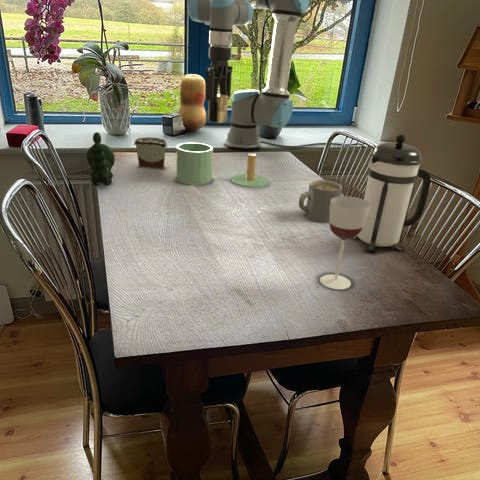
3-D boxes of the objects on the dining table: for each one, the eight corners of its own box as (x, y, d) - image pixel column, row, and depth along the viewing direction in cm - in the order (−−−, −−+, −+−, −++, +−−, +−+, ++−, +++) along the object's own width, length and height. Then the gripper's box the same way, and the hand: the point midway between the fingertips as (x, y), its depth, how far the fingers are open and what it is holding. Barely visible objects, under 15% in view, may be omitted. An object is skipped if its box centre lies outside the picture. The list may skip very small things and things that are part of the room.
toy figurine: (116, 196, 166) (115, 167, 185) (112, 139, 154) (111, 114, 173) (87, 196, 164) (89, 167, 183) (80, 138, 152) (83, 113, 171)
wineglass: (314, 273, 124) (327, 195, 113) (348, 274, 125) (364, 196, 114) (321, 289, 117) (335, 208, 106) (357, 290, 118) (375, 209, 107)
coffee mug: (330, 210, 162) (335, 179, 157) (341, 222, 154) (347, 190, 149) (291, 210, 160) (295, 179, 154) (300, 222, 152) (304, 190, 146)
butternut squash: (188, 135, 235) (189, 77, 221) (172, 129, 243) (171, 73, 229) (211, 132, 243) (213, 76, 229) (195, 127, 251) (195, 72, 237)
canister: (200, 172, 187) (201, 141, 181) (218, 182, 179) (219, 150, 173) (170, 177, 181) (170, 144, 175) (187, 187, 173) (187, 153, 166)
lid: (254, 175, 189) (256, 147, 184) (276, 185, 180) (279, 157, 174) (223, 179, 182) (225, 151, 177) (245, 191, 173) (247, 161, 167)
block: (215, 119, 180) (216, 93, 175) (227, 121, 178) (228, 95, 173) (207, 120, 176) (208, 94, 172) (219, 123, 174) (220, 97, 170)
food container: (170, 165, 193) (170, 138, 188) (167, 169, 188) (166, 142, 183) (139, 162, 194) (138, 135, 188) (135, 166, 189) (133, 139, 183)
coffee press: (397, 261, 133) (428, 146, 116) (342, 245, 139) (363, 134, 123) (415, 240, 145) (445, 134, 129) (363, 226, 152) (385, 123, 136)
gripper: (215, 48, 156) (212, 125, 169) (243, 46, 170) (239, 118, 182) (195, 45, 159) (194, 122, 172) (225, 44, 173) (221, 115, 185)
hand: (217, 120), depth 177 cm, fingers closed on block, 5 cm apart
